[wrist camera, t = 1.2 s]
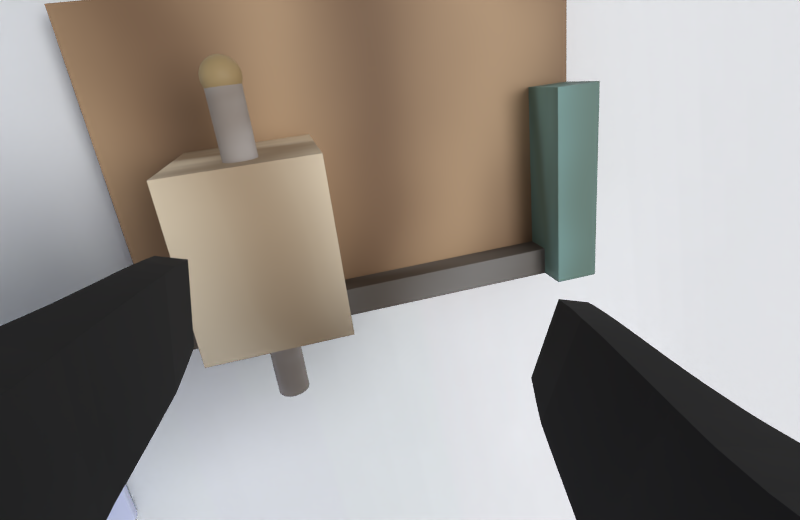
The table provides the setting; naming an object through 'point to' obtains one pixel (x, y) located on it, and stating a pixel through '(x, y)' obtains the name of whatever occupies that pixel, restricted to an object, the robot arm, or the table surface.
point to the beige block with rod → (254, 238)
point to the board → (363, 125)
